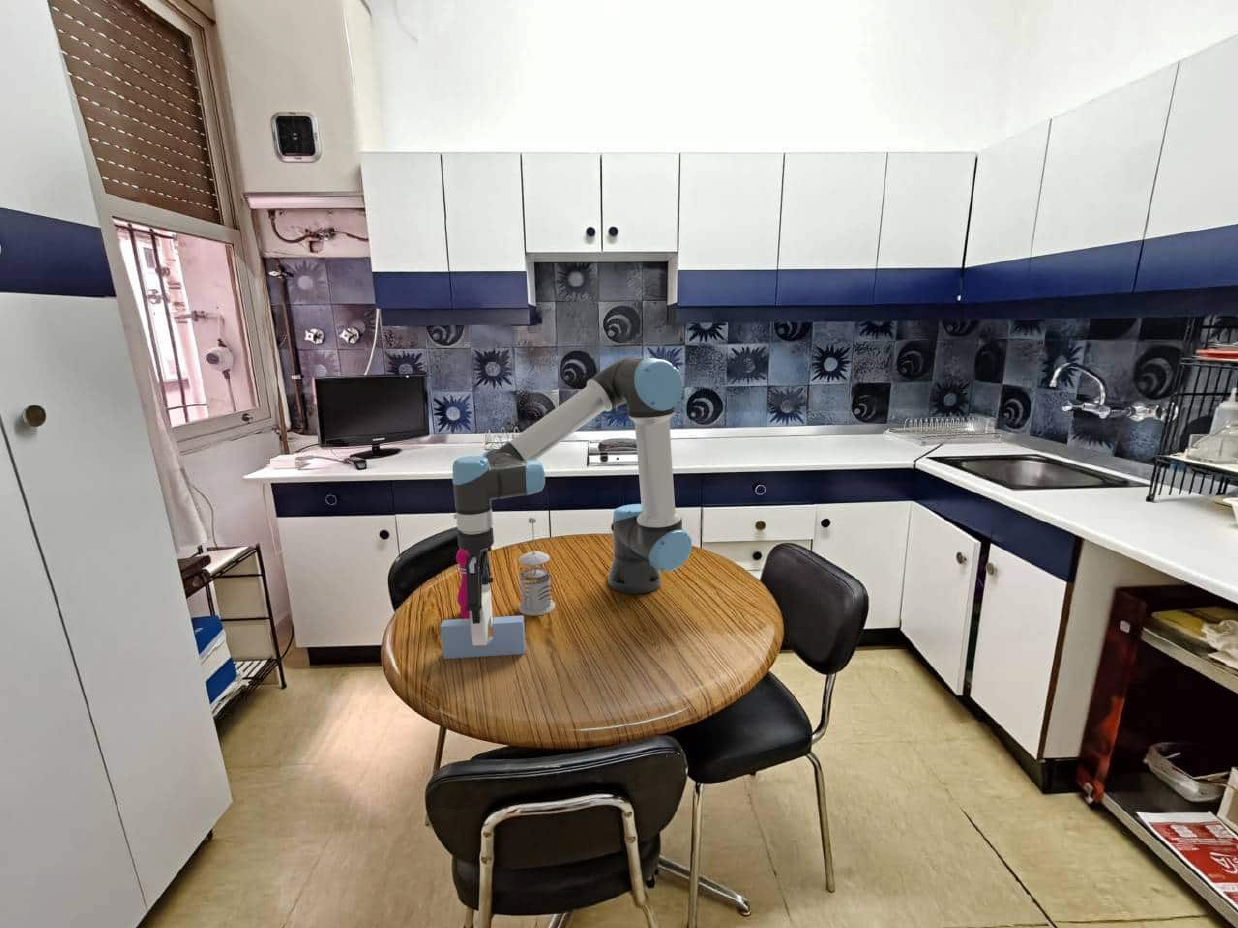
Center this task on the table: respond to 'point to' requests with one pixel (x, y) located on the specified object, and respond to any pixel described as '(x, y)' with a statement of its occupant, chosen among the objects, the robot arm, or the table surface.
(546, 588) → the french press
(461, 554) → the pepper mill
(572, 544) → the table surface
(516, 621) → the blue batten
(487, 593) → the white notched block
